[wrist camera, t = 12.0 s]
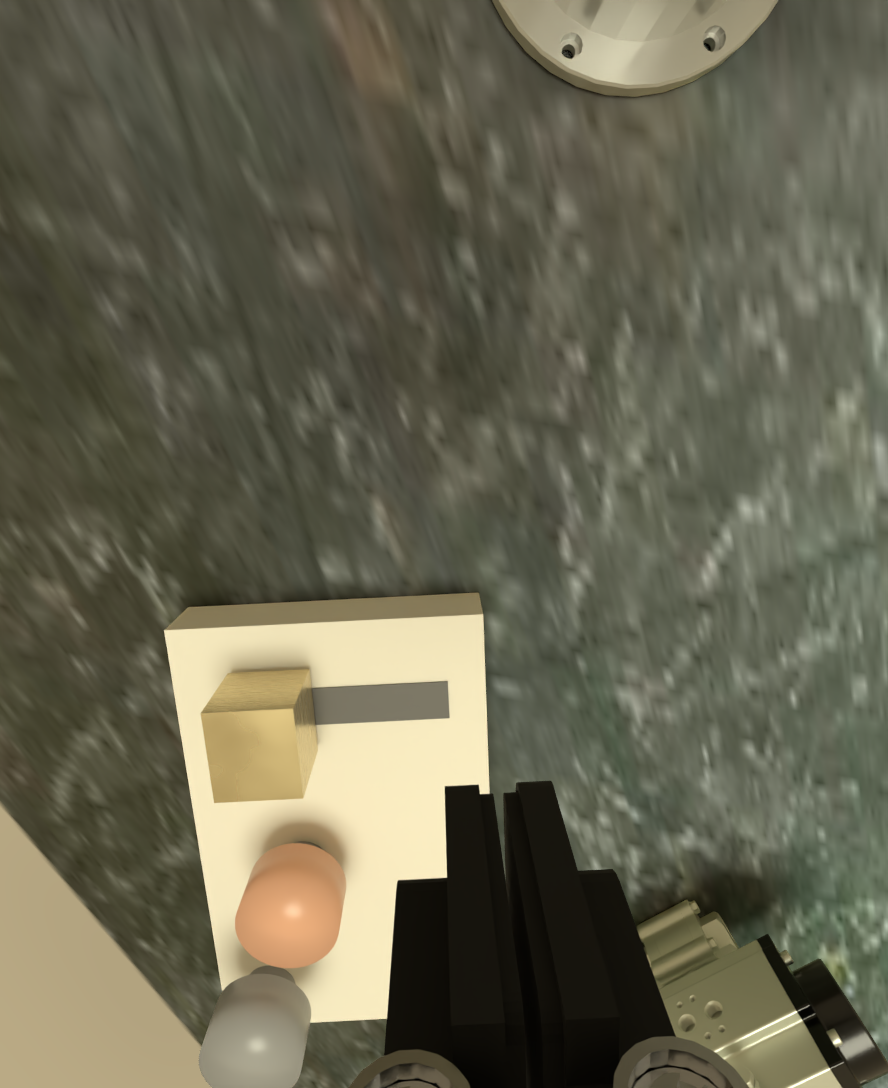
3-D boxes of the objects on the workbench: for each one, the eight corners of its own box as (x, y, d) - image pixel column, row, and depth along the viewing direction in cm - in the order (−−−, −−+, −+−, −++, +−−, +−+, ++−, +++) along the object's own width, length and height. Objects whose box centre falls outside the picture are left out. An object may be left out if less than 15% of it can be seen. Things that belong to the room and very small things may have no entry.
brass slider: (309, 669, 30) (293, 708, 26) (318, 750, 31) (303, 798, 27) (227, 673, 30) (200, 713, 26) (239, 754, 31) (214, 803, 27)
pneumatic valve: (787, 910, 38) (945, 1152, 26) (603, 1004, 39) (676, 1274, 27) (742, 839, 36) (888, 1059, 25) (554, 938, 38) (608, 1191, 26)
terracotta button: (346, 820, 32) (334, 879, 28) (353, 899, 33) (343, 965, 29) (252, 825, 32) (228, 884, 28) (263, 903, 33) (241, 970, 29)
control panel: (478, 592, 33) (483, 615, 30) (492, 963, 38) (497, 1014, 35) (188, 607, 33) (163, 631, 30) (243, 976, 38) (227, 1028, 35)
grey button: (311, 946, 32) (296, 1020, 29) (320, 1019, 33) (306, 1099, 30) (219, 950, 32) (191, 1025, 29) (231, 1023, 33) (206, 1104, 30)
